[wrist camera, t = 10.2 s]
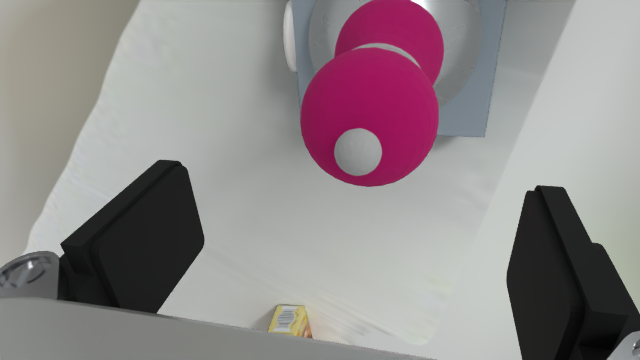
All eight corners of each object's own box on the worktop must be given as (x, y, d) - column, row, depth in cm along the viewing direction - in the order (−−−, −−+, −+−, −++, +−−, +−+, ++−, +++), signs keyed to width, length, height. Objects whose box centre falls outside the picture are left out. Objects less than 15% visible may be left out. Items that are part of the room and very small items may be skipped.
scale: (508, -85, 31) (524, -89, 26) (478, 116, 39) (486, 143, 34) (292, -71, 34) (270, -72, 29) (305, 111, 42) (289, 134, 37)
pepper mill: (421, 98, 33) (418, 266, 16) (336, 73, 34) (246, 211, 17) (457, 4, 29) (500, 97, 12) (359, -23, 30) (274, 33, 13)
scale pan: (493, -60, 28) (495, -60, 27) (468, 122, 34) (469, 125, 33) (305, -50, 30) (302, -50, 30) (315, 116, 37) (313, 120, 36)
